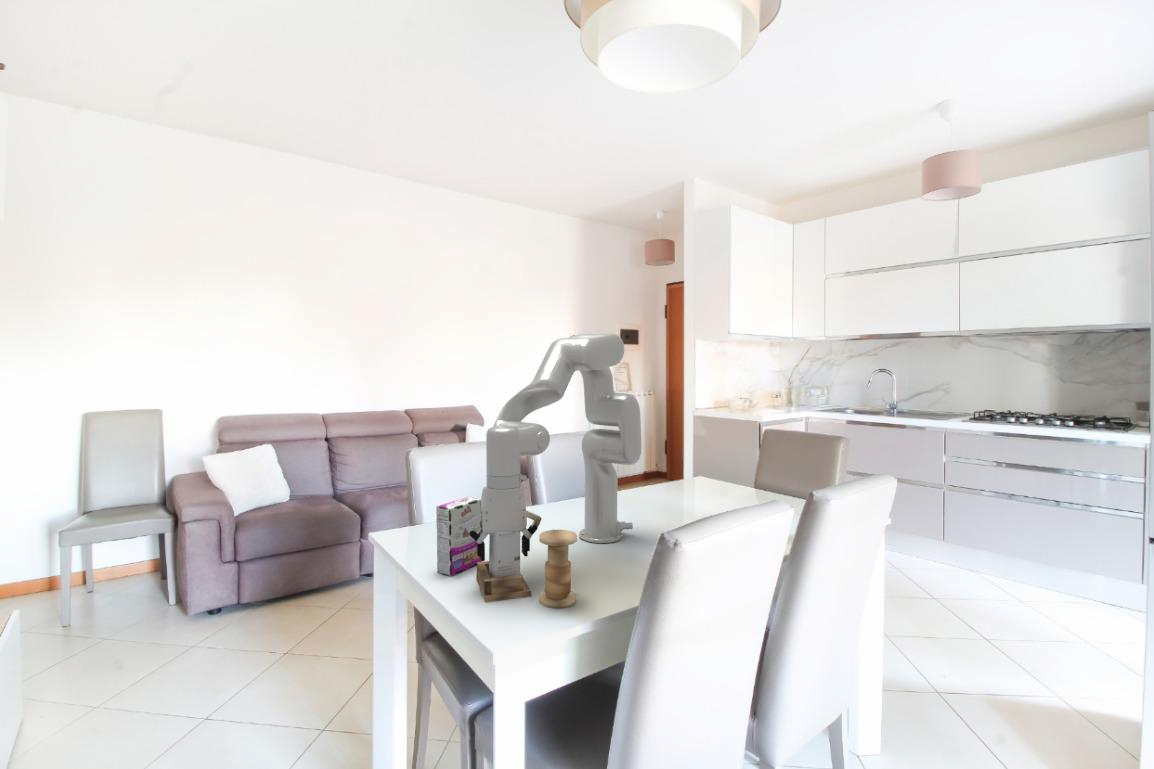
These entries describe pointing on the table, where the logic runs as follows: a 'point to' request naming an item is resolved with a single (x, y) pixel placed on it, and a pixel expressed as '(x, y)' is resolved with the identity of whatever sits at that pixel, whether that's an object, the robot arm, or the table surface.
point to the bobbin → (557, 569)
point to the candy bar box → (456, 536)
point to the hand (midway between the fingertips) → (503, 556)
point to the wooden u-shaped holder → (500, 585)
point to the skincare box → (504, 554)
